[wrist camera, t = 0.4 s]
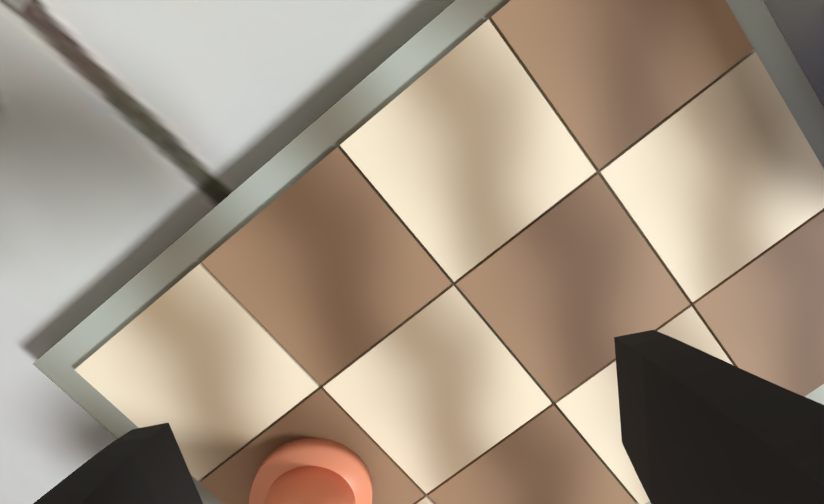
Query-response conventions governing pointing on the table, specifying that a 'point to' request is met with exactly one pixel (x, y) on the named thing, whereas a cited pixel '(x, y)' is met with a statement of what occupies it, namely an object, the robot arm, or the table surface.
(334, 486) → the pawn
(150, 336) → the board
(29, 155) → the table surface
